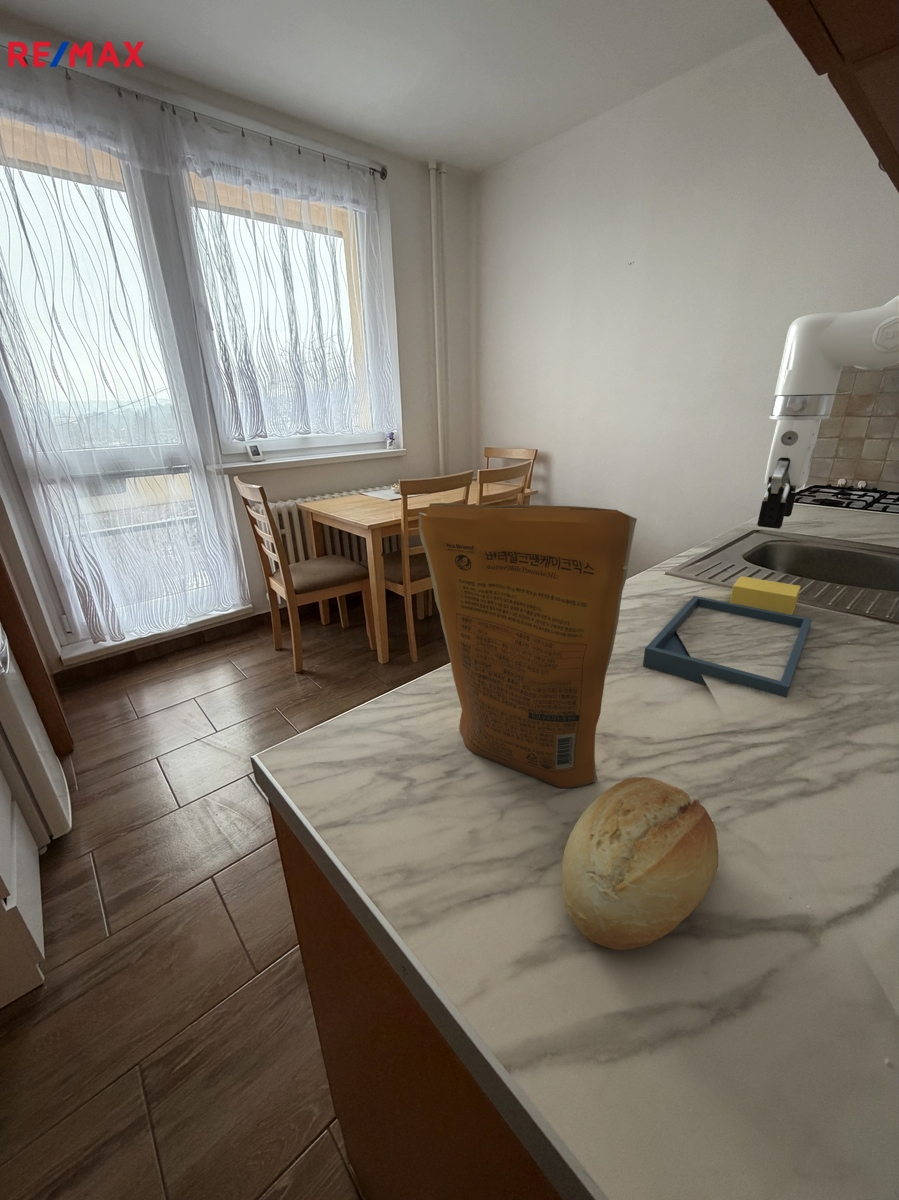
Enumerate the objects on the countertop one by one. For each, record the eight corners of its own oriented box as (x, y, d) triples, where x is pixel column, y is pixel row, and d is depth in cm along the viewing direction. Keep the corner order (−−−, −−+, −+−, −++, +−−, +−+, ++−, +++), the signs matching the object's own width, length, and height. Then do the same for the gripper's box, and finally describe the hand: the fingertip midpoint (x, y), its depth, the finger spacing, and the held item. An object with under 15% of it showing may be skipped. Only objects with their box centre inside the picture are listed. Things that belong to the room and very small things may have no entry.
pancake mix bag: (596, 818, 44) (625, 517, 34) (428, 748, 54) (411, 499, 44) (617, 773, 49) (648, 500, 39) (460, 716, 60) (451, 487, 49)
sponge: (735, 601, 89) (740, 576, 87) (794, 612, 83) (800, 585, 81) (727, 612, 85) (733, 585, 83) (788, 625, 79) (796, 596, 77)
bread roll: (734, 858, 40) (753, 783, 37) (658, 1010, 30) (676, 925, 27) (624, 798, 46) (633, 730, 43) (532, 909, 37) (535, 831, 34)
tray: (691, 611, 86) (694, 595, 85) (807, 636, 75) (812, 618, 74) (642, 666, 69) (644, 647, 68) (783, 708, 59) (789, 687, 57)
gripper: (825, 410, 64) (793, 536, 71) (836, 406, 76) (808, 514, 83) (760, 411, 69) (736, 528, 75) (780, 407, 81) (758, 509, 87)
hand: (774, 521), depth 79 cm, fingers open, 9 cm apart
